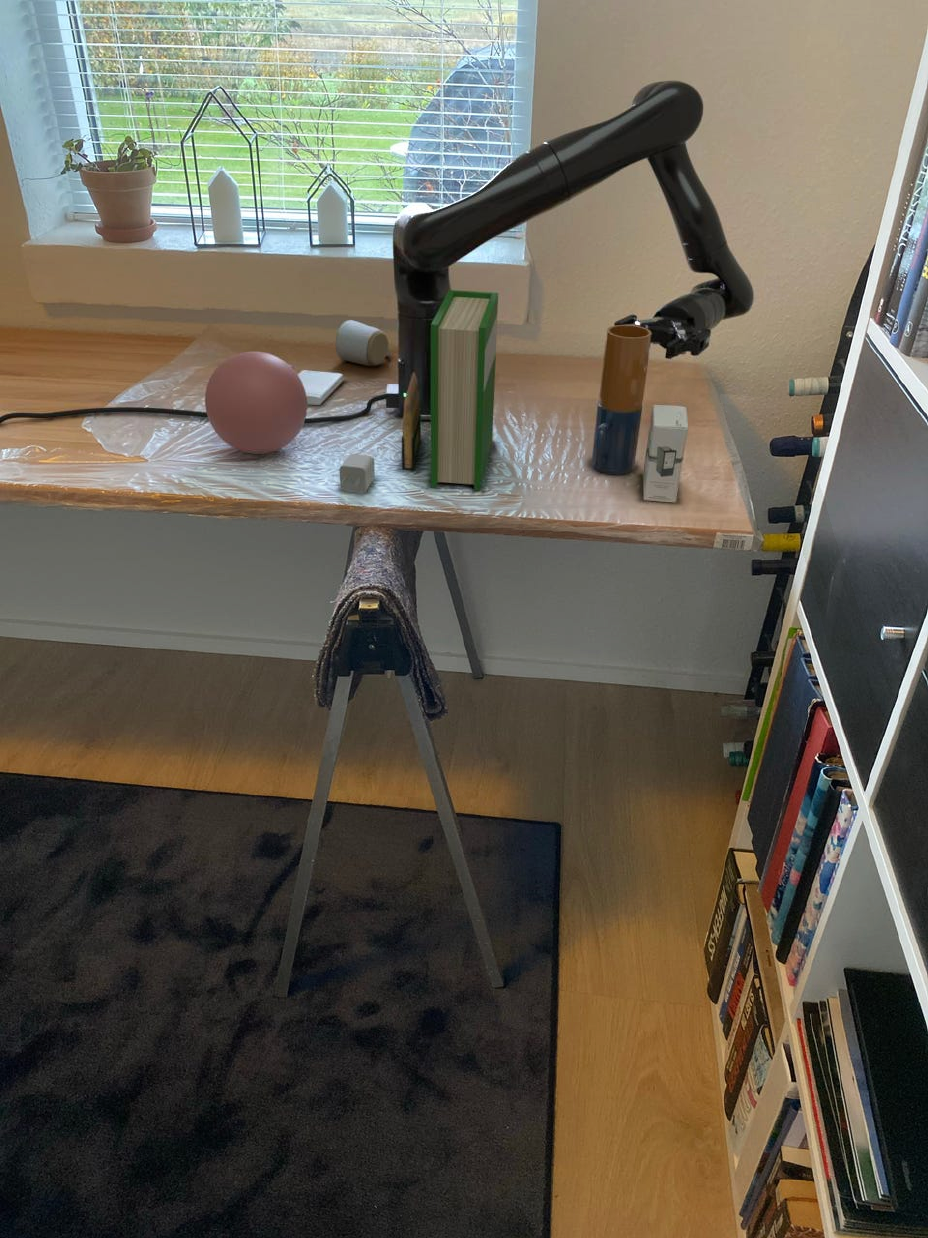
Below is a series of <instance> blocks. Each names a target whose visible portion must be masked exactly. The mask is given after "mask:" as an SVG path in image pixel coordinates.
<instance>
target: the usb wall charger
mask: <svg viewBox="0 0 928 1238" xmlns="http://www.w3.org/2000/svg"><path fill="white" fill-rule="evenodd" d="M375 469H376V468H375V458H374V457H373V456H372V455H367V454H357V453H350V454H349V455H348V456H347V457H346V459H345V460H344V461H343V463H342V464H341V466H340V467H339V470H338V472H339V487H340V489H341V490H342V491H344V492H349V493H359V494H364V493H365V492H367V490H368V489H369V488H370V486H371V484H372V483H373V481H374V480H375V479H376V478H375V477H376V471H375Z"/></svg>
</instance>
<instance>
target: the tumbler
mask: <svg viewBox="0 0 928 1238" xmlns="http://www.w3.org/2000/svg"><path fill="white" fill-rule="evenodd" d="M605 331H606V333H605V340H604V350H603V351H604V352H603V361H602V362H603V363H602V371H601V379H600V390H599V400H598V402H599V404H600V406H601V407H603V408H605V409H607V410H610V411H615V412H634V411H637V410H639V409H641V407H642V408H643V402H644V395H645V387H646V382H647V372H648V365H649V357H650V351H651V344H652V343H651V336H652V332H651V331H650V330H648V329H646V328H644V327H640V326H634V325H616V326H614V325H611V326H609V327H607V329H606V330H605Z"/></svg>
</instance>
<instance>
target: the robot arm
mask: <svg viewBox="0 0 928 1238" xmlns="http://www.w3.org/2000/svg"><path fill="white" fill-rule="evenodd" d="M703 116H704V102H703V98H702V96H701V94H700V93H699V91H698V90H697V89H696V88H695V87H694V86H692V85H691V84H689V83H687V82H684V81H681V80H675V79H674V80H663V81H656V82H651V83H649V84H647V85H644V86H643V87H642V88H640V89H639V91H638V92H637V93H636V94H635V96H634V97H633V99H632V102H631V104H630V107H629V108H627V109H626V110H625V111H622V112H621V113H619V114H617V115H615V116H613V117H612V118H609V119H606V120H604V121H602V122H599V123H594V124H592V125H588V126H585V127H581V128H578V129H576V130H572V131H569V132H566V133H564V134H561V135H559V136H556V137H554V138H552V139H549V140H547V141H545V142H543V143H541V144H539V145H538V146H535V147H534V148H532V149H529V150H527V151H526V152H524V153H521V154H520V155H519V156H517V157H515V158H514V159H512V160H511V161H510V162H509V163H507V164H506V165H505V166H504V167H503V168H502V169H501V170H499V171H498V172H497V173H496V174H495V175H494V176H493V177H492V178H490V180H489V181H488V182H487V183H486V184H485V185H483V186H482V187H480V189H477V191H474V192H473V193H472V194H470V195H468V196H466V197H464V198H462V199H459V200H457V201H455V202H453V203H450V204H448V205H444V206H443V207H440V208H438V207H436V206H435V205H432V204H429V203H425V202H417V203H412V204H409V205H408V206H407V207H405V208H404V209H403V210H402V211H401V212H400V213H399V214H398V216H397V218H396V220H395V221H394V222H395V223H394V225H393V229H392V256H393V257H392V262H393V263H392V264H393V282H394V291H395V296H396V305H397V308H396V309H397V339H398V341H397V344H398V345H397V347H398V349H397V351H398V353H397V354H398V359H397V380H398V381H397V383H387V384H386V389H385V393H384V394H380V395H375V396H373V397H371V398H370V399H369V400H368V401H367V403H366V407H365V408H364V409H362V410H360V411H359V412H356V413H352V414H347V415H333V416H324V417H323V416H321V417H306V418H305V421H304V424H303V425H305V424H307V425H308V424H319V423H321V424H322V423H330V422H344V421H348V420H352V419H356V418H360V417H363V416H366V415H367V414H369V412H370V411H371V410H372V406H373V404H374V403H376V402H379V401H383V400H385V408H386V409H398V417H404V401H405V397H406V394H407V390H408V387H409V384H410V381H411V378H412V374H413V373H414V372H415V374H416V377H417V382H418V395H419V404H420V414H421V421H431V323H432V322H433V320H434V318H435V316H436V314H437V312H438V310H439V308H440V306H441V304H442V303H443V301H444V299H445V297H446V295H447V293H448V291H449V290H453V289H452V285H451V280H450V267H451V266H453V265H454V264H456V263H457V262H459V261H460V260H461V259H463V258H465V257H466V256H468V255H469V254H471V253H472V252H473V251H475V250H477V249H478V248H479V247H481V246H483V245H484V244H486V243H487V242H488V241H491V240H492V239H494V238H496V237H497V236H500V235H502V234H504V233H506V232H509V231H511V230H513V229H516V228H517V227H519V226H521V225H523V224H525V223H527V222H529V221H531V220H533V219H535V218H538V217H540V216H542V215H544V214H546V213H548V212H550V211H553V210H555V209H556V208H558V207H560V206H562V205H564V204H565V203H567V202H569V201H572V200H573V199H575V198H577V197H578V196H580V195H582V194H583V193H585V192H586V191H588V190H590V189H592V188H594V187H596V186H597V185H599V184H601V183H602V182H604V181H606V180H607V179H609V178H610V177H612V176H613V175H615V174H617V173H619V172H620V171H622V170H623V169H626V168H628V167H629V166H632V165H634V164H636V163H638V162H640V161H643V160H645V159H646V160H647V162H648V163H649V165H650V167H651V169H652V172H653V174H654V176H655V178H656V181H657V183H658V185H659V187H660V189H661V192H662V194H663V196H664V200H665V202H666V204H667V206H668V209H669V211H670V214H671V218H672V220H673V224H674V226H675V229H676V232H677V235H678V239H679V241H680V245H681V247H682V251H683V254H684V256H685V260H686V262H687V266H688V268H689V269H690V270H691V272H693V273H696V274H712V275H715V276H716V278H714V279H709V280H706V281H703V282H700V283H698V284H696V285H694V286H693V287H692V288H691V290H690V292H689V293H687V294H686V293H685V294H683V295H681V296H679V297H676V298H675V299H673V300H671V301H669V302H668V303H666V304H664V305H662V306H661V307H660V308H659V309H658V310H656V312H655V313H654V315H653V316H652V318H648V319H638V316H637V315H636V314H630V315H627V316H625V317H623V318H620V319H618V320H615V321H614V323H613V324H614V325H613V326H616V325H634V326H640V327H644V328H646V329H648V330H650V331H651V332H652V336H651V343H650V344H653V345H659V346H660V347H662V349H665V354H664V355H665V357H664V358H665V359H668V360H671V359H673V358H675V357H679V356H680V355H685V354H687V352H688V353H690V355H691V356H693V357H696V356H699V355H701V354H702V353H703V352H704V351H705V350H706V349H708V347H710V341H711V335H712V330H713V329H715V328H716V327H717V326H718V325H719V324H720V323H721V322H722V321H725V320H728V319H733V318H737V317H741V316H744V315H746V314H747V313H749V312H750V310H751V309H752V307H753V303H754V298H755V294H754V287H753V285H752V282H751V280H750V278H749V277H748V274H746V272H745V271H744V269H743V267H741V265H740V264H739V262H738V261H737V259H736V257H735V255H734V254H733V252H732V251H731V249H730V247H729V244H728V240H727V238H726V233H725V231H724V227H723V225H722V222H721V217H720V215H719V213H718V210H717V208H716V206H715V204H714V202H713V200H712V197H711V196H710V194H709V192H708V191H707V189H706V188H705V186H704V184H703V182H702V180H701V179H700V177H699V175H698V174H697V171H696V169H695V166H694V164H693V162H692V160H691V156H690V154H689V151H688V147H687V143H686V142H687V141H689V140H690V139H691V138H692V137H693V136H694V135H695V133H696V132H697V130H698V129H699V127H700V125H701V122H702V120H703ZM106 413H107V414H109V413H110V414H111V413H141V414H142V413H147V414H164V415H165V414H166V415H177V416H187V417H188V416H189V417H199V418H208V416H207V412H206V411H197V410H187V409H186V410H185V409H177V408H175V409H174V408H163V407H140V406H119V407H118V406H114V407H93V408H92V407H91V408H79V409H70V410H69V409H68V410H61V411H53V412H23V411H22V412H10V413H6V414H3V415H0V425H1V424H2V423H4V422H6V421H8V420H12V419H23V418H24V419H52V418H60V417H71V416H79V415H89V414H106Z"/></svg>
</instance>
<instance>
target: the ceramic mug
mask: <svg viewBox="0 0 928 1238" xmlns="http://www.w3.org/2000/svg"><path fill="white" fill-rule="evenodd" d="M335 350H336V354H337V356H338V357H339V358H340V359H341V360H343V361H346V362H351V363H354V364H360V365H363V366H367V367H377V366H379V365H381V364H382V363H383V362H384V361H385V359H386V357H389V356H390V354H391V348H389V339H388V336H387V334H386V333H385V332H384V331H383V330H381V329H379V328H377V327H375V326H371V325H367V324H365V323H362V322H359V321H356V320H352V319H349V320H346V321H344V322H343V323H342V324H341V325H340V327H339V328H338V330H337V333H336V337H335Z"/></svg>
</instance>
